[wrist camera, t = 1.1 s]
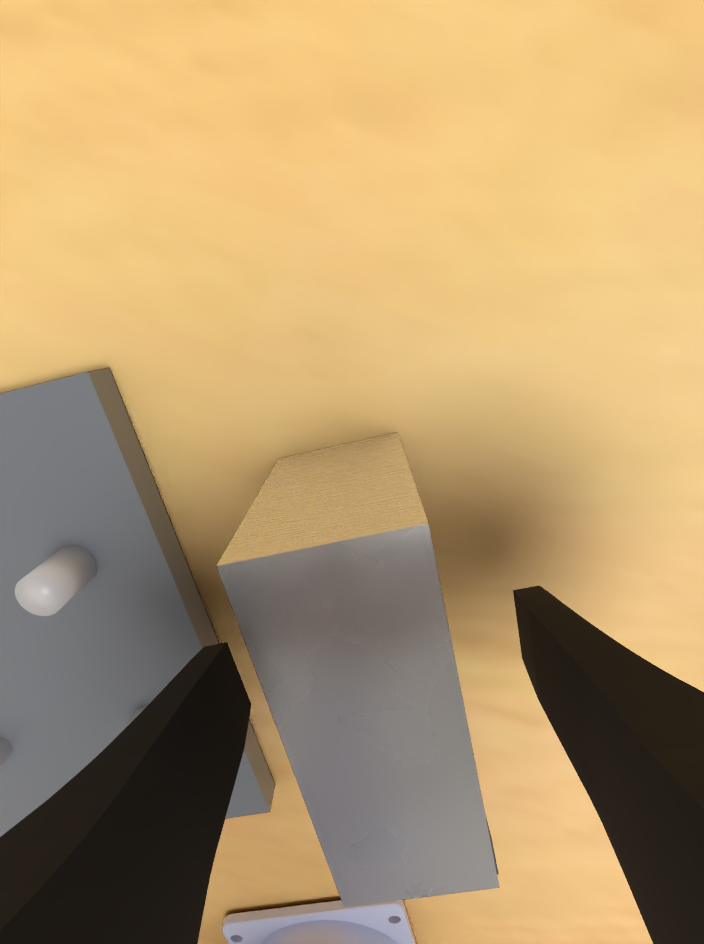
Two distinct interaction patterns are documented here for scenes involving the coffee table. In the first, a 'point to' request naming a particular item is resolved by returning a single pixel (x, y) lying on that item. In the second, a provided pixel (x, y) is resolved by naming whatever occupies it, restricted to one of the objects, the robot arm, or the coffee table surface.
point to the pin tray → (87, 593)
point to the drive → (362, 671)
